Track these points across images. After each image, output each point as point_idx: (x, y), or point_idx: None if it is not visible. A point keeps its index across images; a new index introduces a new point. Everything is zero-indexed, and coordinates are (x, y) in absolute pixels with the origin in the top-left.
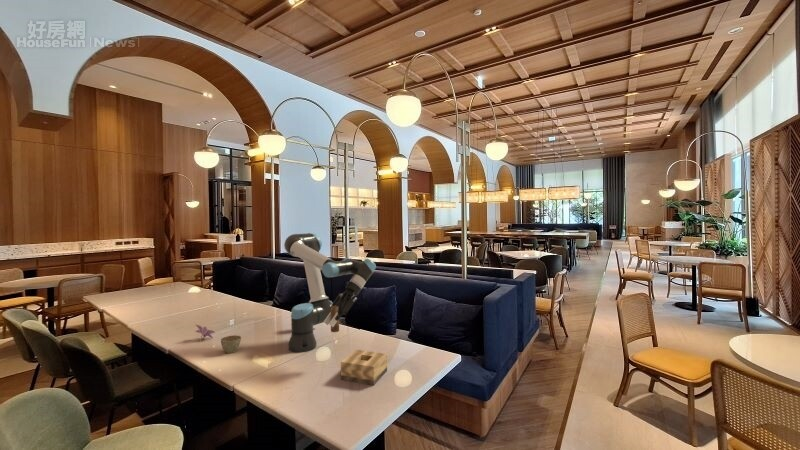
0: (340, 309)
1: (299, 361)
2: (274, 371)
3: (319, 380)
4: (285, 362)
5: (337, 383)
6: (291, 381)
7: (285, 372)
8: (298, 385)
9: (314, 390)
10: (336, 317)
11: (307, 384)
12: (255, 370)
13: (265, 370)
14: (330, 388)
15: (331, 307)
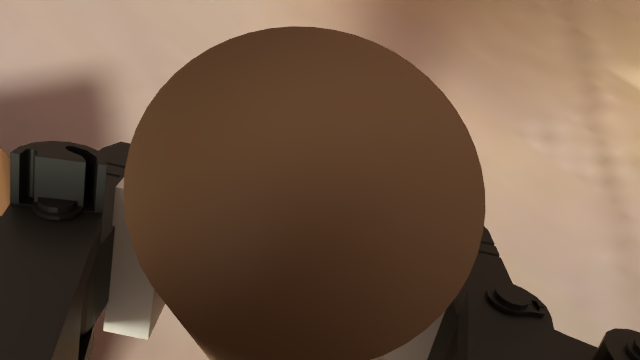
0: (34, 258)
1: (545, 243)
2: (526, 54)
3: None
4: (604, 177)
5: (28, 134)
6: (321, 17)
7: (459, 77)
8: (243, 3)
9: (108, 5)
10: (125, 161)
11: (204, 35)
12: (625, 11)
13: (581, 37)
14: (29, 65)
15: (327, 34)
